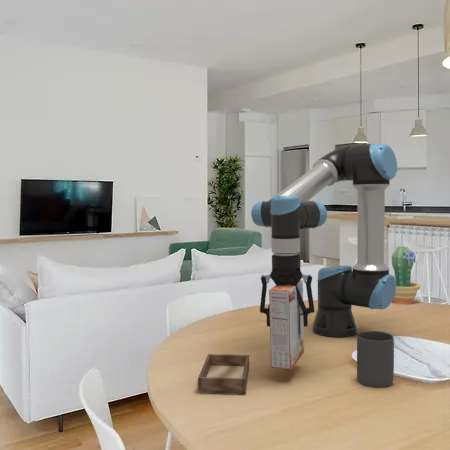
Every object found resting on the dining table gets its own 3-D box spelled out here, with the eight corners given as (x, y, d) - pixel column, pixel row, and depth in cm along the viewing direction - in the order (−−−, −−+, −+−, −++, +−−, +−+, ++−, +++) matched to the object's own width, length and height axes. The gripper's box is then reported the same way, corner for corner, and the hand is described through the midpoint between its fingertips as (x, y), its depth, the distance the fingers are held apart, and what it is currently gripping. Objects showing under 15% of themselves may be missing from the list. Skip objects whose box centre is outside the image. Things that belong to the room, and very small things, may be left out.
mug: (395, 389, 123) (396, 341, 122) (357, 386, 125) (357, 339, 124) (389, 370, 136) (390, 327, 136) (355, 368, 138) (355, 325, 138)
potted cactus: (387, 305, 217) (387, 248, 215) (381, 298, 232) (382, 244, 230) (424, 306, 214) (425, 248, 213) (416, 298, 229) (417, 244, 228)
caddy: (249, 368, 139) (249, 354, 139) (245, 394, 121) (245, 379, 120) (208, 367, 140) (208, 354, 140) (198, 393, 122) (198, 378, 122)
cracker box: (283, 351, 142) (283, 278, 140) (304, 353, 139) (304, 280, 138) (268, 367, 129) (267, 288, 127) (291, 370, 127) (290, 289, 125)
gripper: (322, 251, 135) (323, 334, 136) (248, 252, 137) (250, 333, 138) (325, 255, 127) (326, 342, 129) (247, 256, 129) (249, 342, 131)
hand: (287, 338), depth 134 cm, fingers closed on cracker box, 7 cm apart
